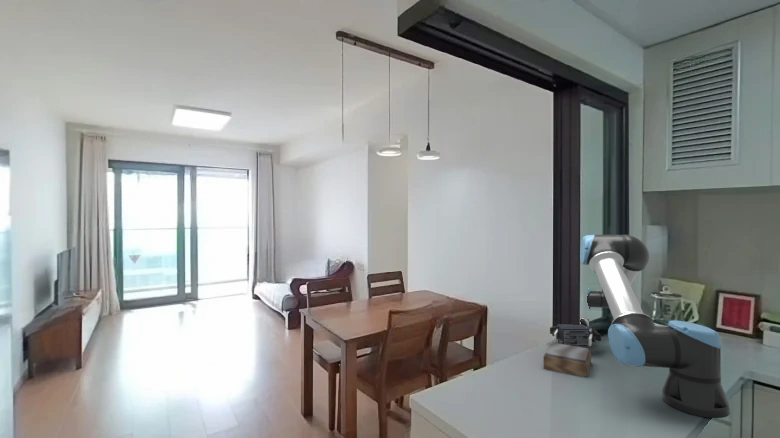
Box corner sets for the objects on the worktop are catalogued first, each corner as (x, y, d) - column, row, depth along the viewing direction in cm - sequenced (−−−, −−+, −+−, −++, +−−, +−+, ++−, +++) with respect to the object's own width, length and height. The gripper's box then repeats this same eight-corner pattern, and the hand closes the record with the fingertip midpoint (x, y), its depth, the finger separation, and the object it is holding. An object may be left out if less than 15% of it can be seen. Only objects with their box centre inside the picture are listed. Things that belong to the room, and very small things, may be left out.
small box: (583, 349, 151) (583, 323, 151) (590, 355, 144) (590, 328, 144) (557, 348, 152) (556, 323, 152) (563, 354, 146) (562, 328, 145)
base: (591, 363, 137) (590, 348, 137) (587, 377, 125) (587, 361, 125) (550, 355, 145) (550, 341, 145) (543, 368, 133) (543, 353, 133)
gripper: (610, 338, 157) (607, 354, 139) (549, 329, 170) (540, 343, 152) (609, 320, 157) (607, 335, 138) (549, 313, 170) (539, 325, 152)
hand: (572, 339), depth 145 cm, fingers closed on small box, 12 cm apart
